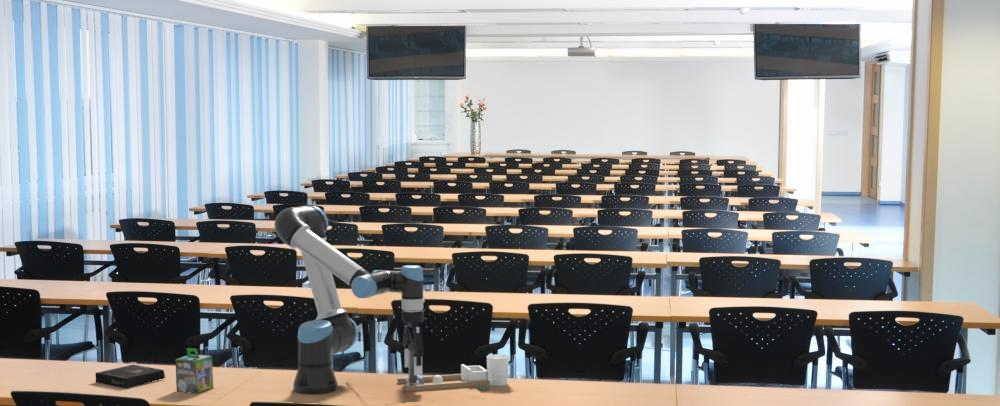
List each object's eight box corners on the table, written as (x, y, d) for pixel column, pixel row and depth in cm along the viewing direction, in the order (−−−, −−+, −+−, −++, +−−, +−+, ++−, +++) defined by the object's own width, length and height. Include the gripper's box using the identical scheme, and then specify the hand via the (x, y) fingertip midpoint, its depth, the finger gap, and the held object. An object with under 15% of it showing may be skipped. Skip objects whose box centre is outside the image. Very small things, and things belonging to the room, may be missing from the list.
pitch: (406, 395, 378) (406, 386, 378) (397, 386, 391) (397, 378, 391) (489, 388, 388) (489, 380, 388) (478, 380, 400) (478, 372, 400)
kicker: (409, 389, 382) (409, 346, 381) (404, 384, 388) (404, 342, 387) (424, 387, 383) (424, 345, 382) (419, 383, 390) (419, 341, 389)
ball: (434, 386, 386) (434, 376, 386) (431, 384, 390) (431, 374, 390) (444, 386, 388) (444, 376, 387) (441, 383, 391) (441, 373, 391)
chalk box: (213, 388, 387) (213, 346, 386) (196, 394, 379) (195, 351, 378) (193, 385, 391) (192, 344, 390) (175, 391, 383) (174, 349, 382)
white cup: (506, 387, 391) (506, 359, 390) (484, 386, 392) (484, 358, 392) (510, 382, 398) (510, 354, 398) (489, 381, 400) (489, 353, 399)
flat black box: (165, 380, 401) (164, 369, 401) (126, 389, 387) (126, 378, 386) (134, 374, 410) (134, 364, 410) (95, 383, 395) (95, 372, 395)
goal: (469, 386, 387) (469, 370, 387) (460, 380, 397) (460, 364, 396) (488, 385, 389) (488, 368, 389) (479, 378, 399) (479, 363, 398)
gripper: (432, 315, 373) (433, 377, 375) (414, 304, 397) (415, 363, 398) (410, 316, 371) (411, 379, 372) (393, 305, 395) (394, 364, 396)
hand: (413, 370), depth 385 cm, fingers open, 13 cm apart
